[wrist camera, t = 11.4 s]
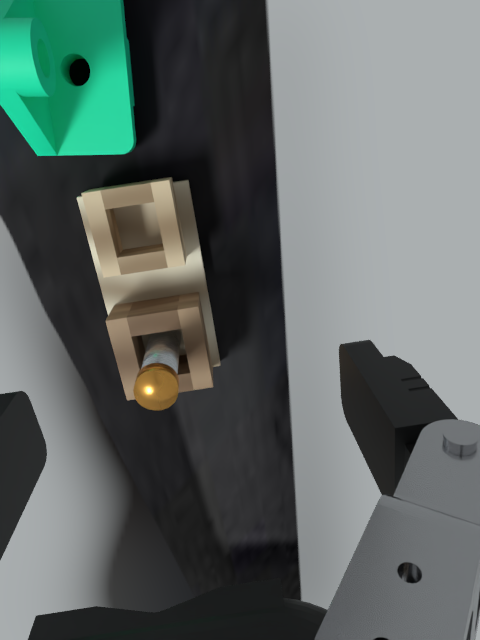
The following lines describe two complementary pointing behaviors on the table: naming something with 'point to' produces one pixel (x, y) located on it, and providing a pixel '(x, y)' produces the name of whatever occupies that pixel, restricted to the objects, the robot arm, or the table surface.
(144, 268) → the dock board
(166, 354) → the lock pin
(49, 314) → the table surface
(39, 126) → the camera mount
